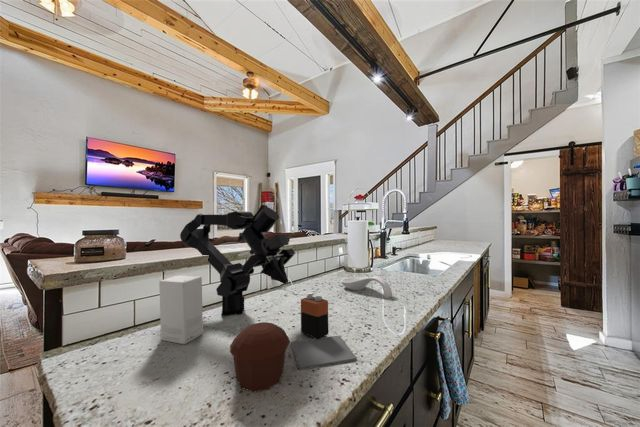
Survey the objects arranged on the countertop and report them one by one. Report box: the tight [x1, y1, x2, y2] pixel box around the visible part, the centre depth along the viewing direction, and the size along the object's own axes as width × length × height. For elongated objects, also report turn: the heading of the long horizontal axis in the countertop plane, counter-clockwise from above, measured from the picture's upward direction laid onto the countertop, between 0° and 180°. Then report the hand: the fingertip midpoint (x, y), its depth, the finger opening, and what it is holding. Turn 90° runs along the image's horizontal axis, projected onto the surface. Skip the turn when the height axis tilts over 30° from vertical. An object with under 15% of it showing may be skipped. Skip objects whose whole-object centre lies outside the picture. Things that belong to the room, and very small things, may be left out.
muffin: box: [229, 321, 291, 393], centre depth 51 cm, size 12×11×10 cm
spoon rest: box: [340, 275, 393, 299], centre depth 109 cm, size 24×12×7 cm, turn 43°
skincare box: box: [158, 274, 204, 345], centre depth 67 cm, size 8×7×16 cm
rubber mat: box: [290, 335, 358, 370], centre depth 60 cm, size 13×11×1 cm
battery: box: [300, 294, 329, 339], centre depth 69 cm, size 4×7×10 cm, turn 46°
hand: (286, 282), depth 74 cm, fingers closed
